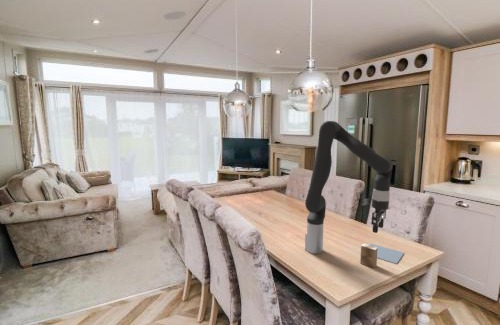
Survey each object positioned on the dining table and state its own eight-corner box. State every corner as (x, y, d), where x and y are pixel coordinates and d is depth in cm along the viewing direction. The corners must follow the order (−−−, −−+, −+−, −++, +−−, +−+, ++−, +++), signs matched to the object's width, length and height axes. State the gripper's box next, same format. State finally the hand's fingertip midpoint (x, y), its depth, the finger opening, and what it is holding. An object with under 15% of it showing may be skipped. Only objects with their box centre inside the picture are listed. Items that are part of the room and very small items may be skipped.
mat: (361, 253, 150) (361, 252, 150) (371, 244, 162) (371, 243, 162) (396, 264, 138) (396, 263, 138) (404, 253, 150) (404, 252, 150)
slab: (360, 263, 139) (361, 245, 138) (362, 260, 142) (363, 243, 140) (374, 268, 134) (375, 249, 133) (376, 265, 137) (377, 247, 136)
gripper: (377, 194, 137) (374, 224, 139) (367, 199, 127) (364, 231, 129) (393, 197, 132) (390, 227, 134) (384, 203, 122) (381, 236, 124)
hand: (377, 229), depth 132 cm, fingers open, 8 cm apart
